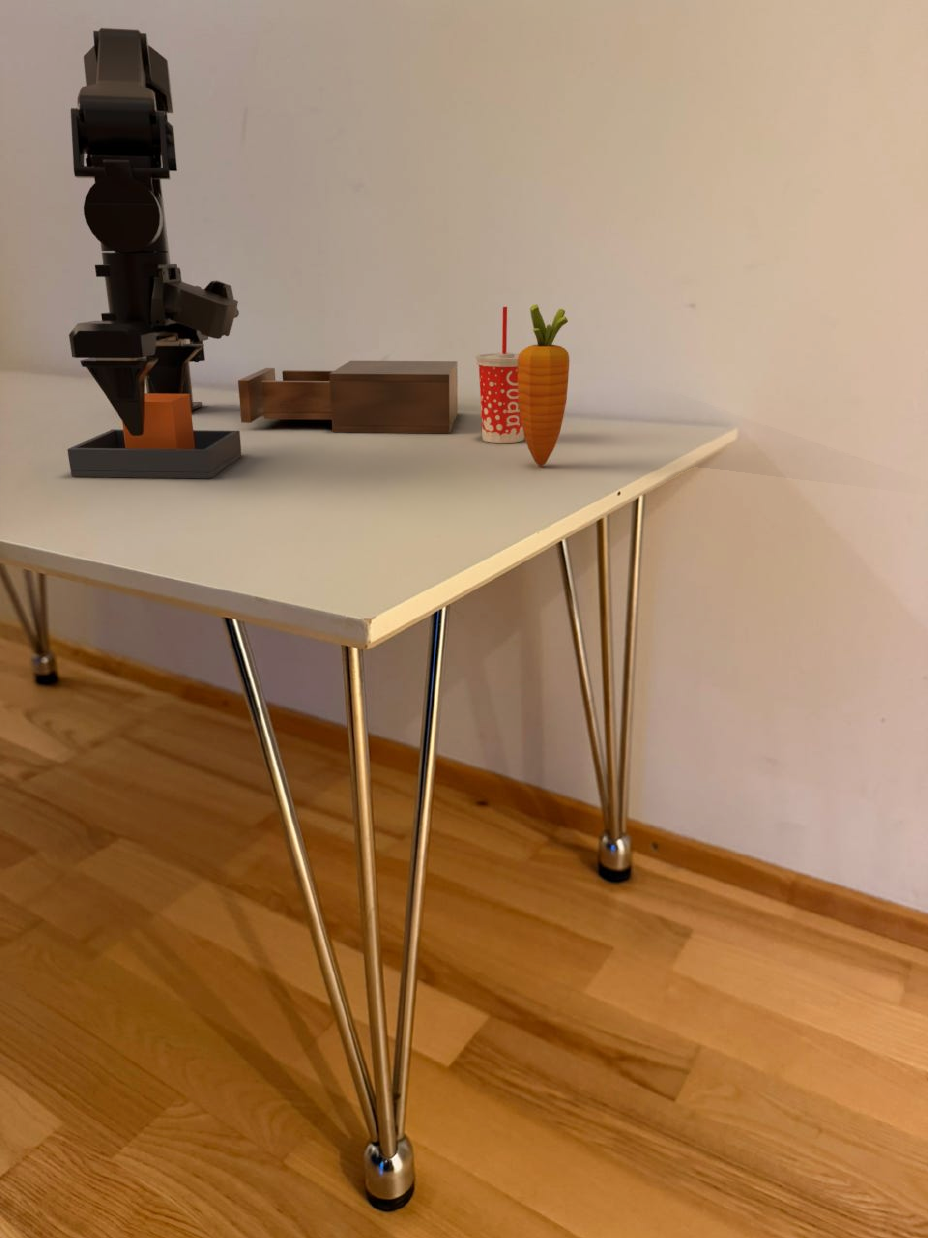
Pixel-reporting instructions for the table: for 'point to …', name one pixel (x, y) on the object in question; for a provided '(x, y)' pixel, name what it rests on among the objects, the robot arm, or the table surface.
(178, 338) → the robot arm
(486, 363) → the beverage cup
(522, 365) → the carrot
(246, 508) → the table surface
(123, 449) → the tray
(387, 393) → the cabinet
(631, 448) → the table surface
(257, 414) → the drawer
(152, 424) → the cube
